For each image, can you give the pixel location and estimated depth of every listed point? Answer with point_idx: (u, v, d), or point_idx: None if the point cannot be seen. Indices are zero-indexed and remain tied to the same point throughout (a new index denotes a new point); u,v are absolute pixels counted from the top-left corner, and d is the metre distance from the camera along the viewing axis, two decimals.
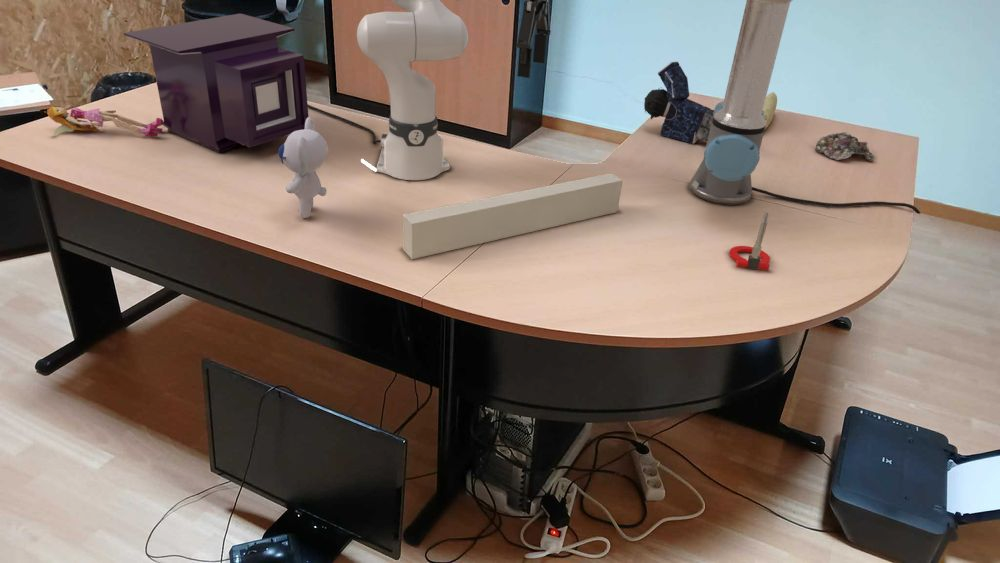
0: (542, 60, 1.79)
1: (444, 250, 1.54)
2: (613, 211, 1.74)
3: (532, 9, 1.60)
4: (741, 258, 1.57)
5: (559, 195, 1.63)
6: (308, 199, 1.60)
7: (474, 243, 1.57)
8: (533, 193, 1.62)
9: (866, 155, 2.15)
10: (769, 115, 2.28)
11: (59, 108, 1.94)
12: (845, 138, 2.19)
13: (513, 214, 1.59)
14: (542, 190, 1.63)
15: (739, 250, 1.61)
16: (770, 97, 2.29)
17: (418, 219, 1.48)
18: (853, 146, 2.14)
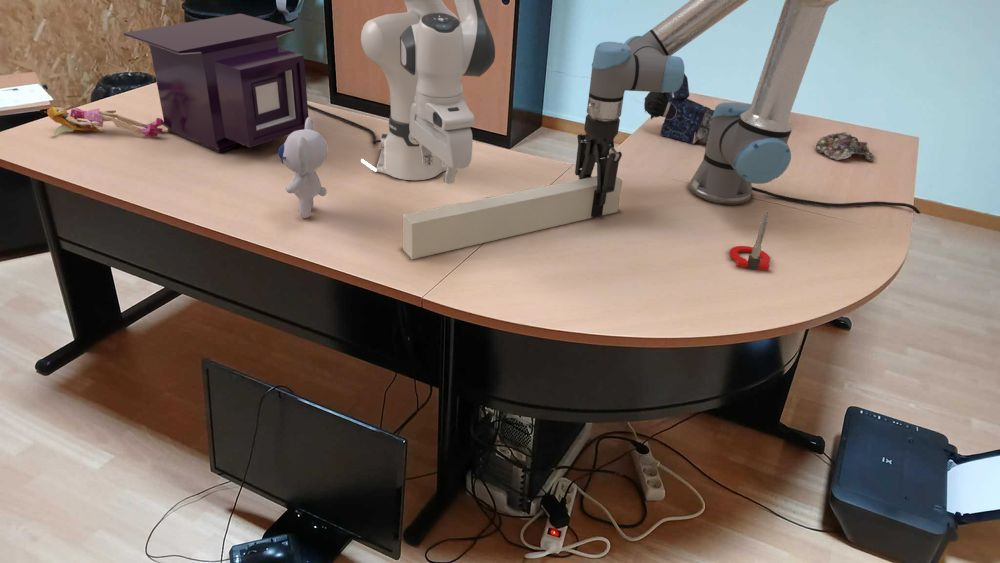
0: None
1: (444, 250, 1.54)
2: (613, 211, 1.74)
3: (618, 159, 1.61)
4: (741, 258, 1.57)
5: (559, 195, 1.63)
6: (308, 199, 1.60)
7: (474, 243, 1.57)
8: (533, 193, 1.62)
9: (866, 155, 2.15)
10: None
11: (59, 108, 1.94)
12: (845, 138, 2.19)
13: (513, 214, 1.59)
14: (542, 190, 1.63)
15: (739, 250, 1.61)
16: None
17: (418, 219, 1.48)
18: (853, 146, 2.14)
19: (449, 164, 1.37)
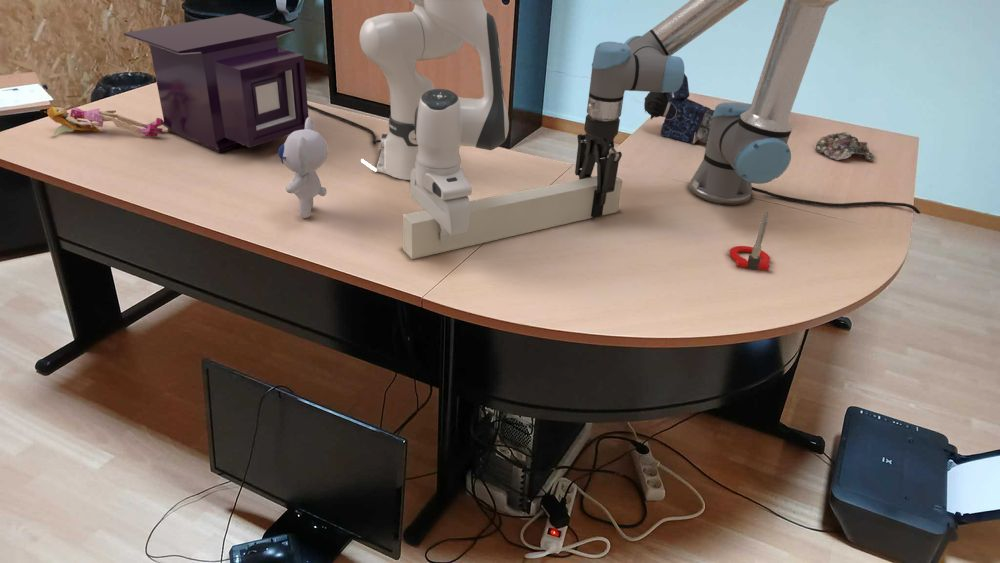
0: None
1: (444, 250, 1.54)
2: (613, 211, 1.74)
3: (618, 159, 1.61)
4: (741, 258, 1.57)
5: (558, 195, 1.63)
6: (308, 199, 1.60)
7: (474, 243, 1.57)
8: (533, 193, 1.62)
9: (866, 155, 2.15)
10: None
11: (59, 108, 1.94)
12: (845, 138, 2.19)
13: (513, 214, 1.59)
14: (542, 190, 1.63)
15: (739, 250, 1.61)
16: None
17: (418, 219, 1.48)
18: (853, 146, 2.14)
19: (448, 230, 1.44)
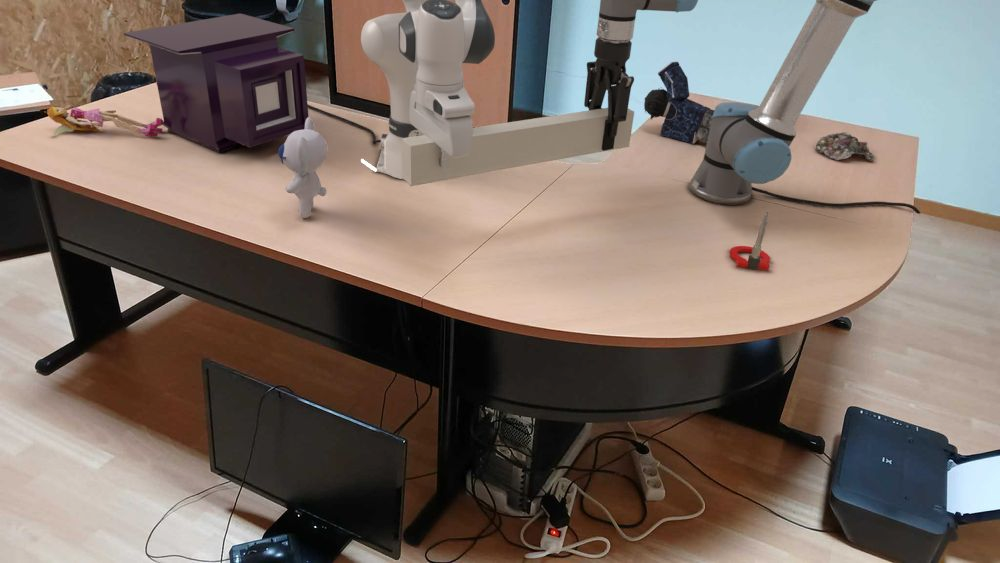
0: None
1: (445, 178, 1.46)
2: (624, 145, 1.66)
3: (631, 85, 1.53)
4: (741, 258, 1.57)
5: (567, 124, 1.54)
6: (308, 199, 1.60)
7: (477, 172, 1.49)
8: (539, 122, 1.53)
9: (866, 155, 2.15)
10: None
11: (59, 108, 1.94)
12: (845, 138, 2.19)
13: (518, 142, 1.50)
14: (549, 119, 1.55)
15: (739, 250, 1.61)
16: None
17: (417, 142, 1.40)
18: (853, 146, 2.14)
19: (449, 152, 1.36)
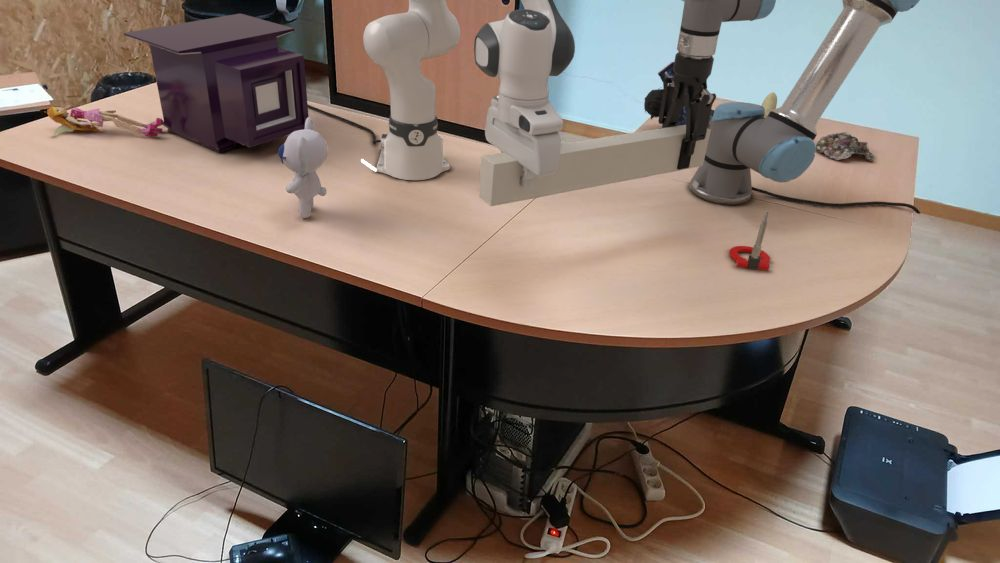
0: None
1: (525, 198, 1.38)
2: (698, 165, 1.59)
3: (712, 102, 1.46)
4: (741, 258, 1.57)
5: (646, 142, 1.47)
6: (308, 199, 1.60)
7: (556, 192, 1.41)
8: (618, 139, 1.46)
9: (866, 155, 2.15)
10: None
11: (59, 108, 1.94)
12: (845, 138, 2.19)
13: (598, 161, 1.43)
14: (627, 136, 1.48)
15: (739, 250, 1.61)
16: (770, 97, 2.29)
17: (499, 160, 1.32)
18: (853, 146, 2.14)
19: (535, 171, 1.28)
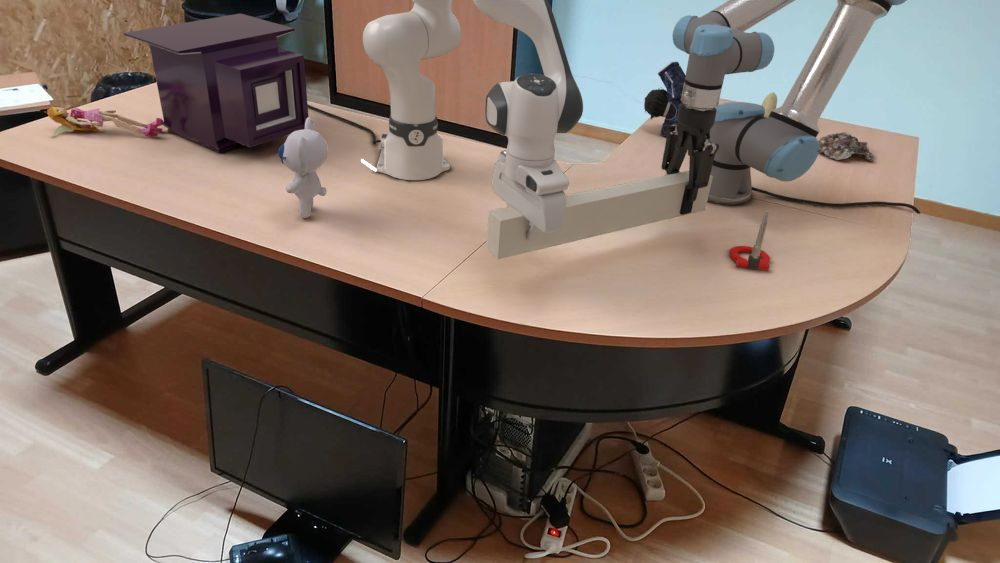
0: None
1: (531, 250, 1.42)
2: (701, 209, 1.63)
3: (715, 152, 1.50)
4: (741, 258, 1.57)
5: (649, 192, 1.51)
6: (308, 199, 1.60)
7: (561, 242, 1.46)
8: (622, 189, 1.50)
9: (866, 155, 2.15)
10: None
11: (59, 108, 1.94)
12: (845, 138, 2.19)
13: (602, 211, 1.47)
14: (631, 186, 1.52)
15: (739, 250, 1.61)
16: (770, 97, 2.29)
17: (506, 215, 1.37)
18: (853, 146, 2.14)
19: (541, 228, 1.32)
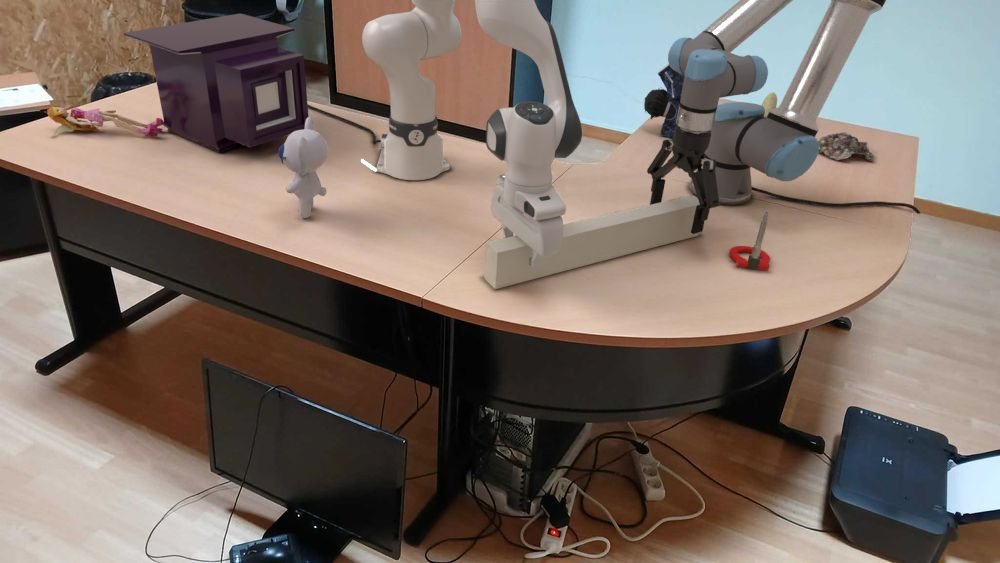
0: None
1: (527, 279, 1.46)
2: (695, 235, 1.66)
3: (714, 167, 1.51)
4: (741, 258, 1.57)
5: (643, 220, 1.55)
6: (308, 199, 1.60)
7: (557, 271, 1.49)
8: (616, 218, 1.54)
9: (866, 155, 2.15)
10: None
11: (59, 108, 1.94)
12: (845, 138, 2.19)
13: (597, 240, 1.51)
14: (625, 214, 1.55)
15: (739, 250, 1.61)
16: (770, 97, 2.29)
17: (503, 247, 1.40)
18: (853, 146, 2.14)
19: (539, 252, 1.35)
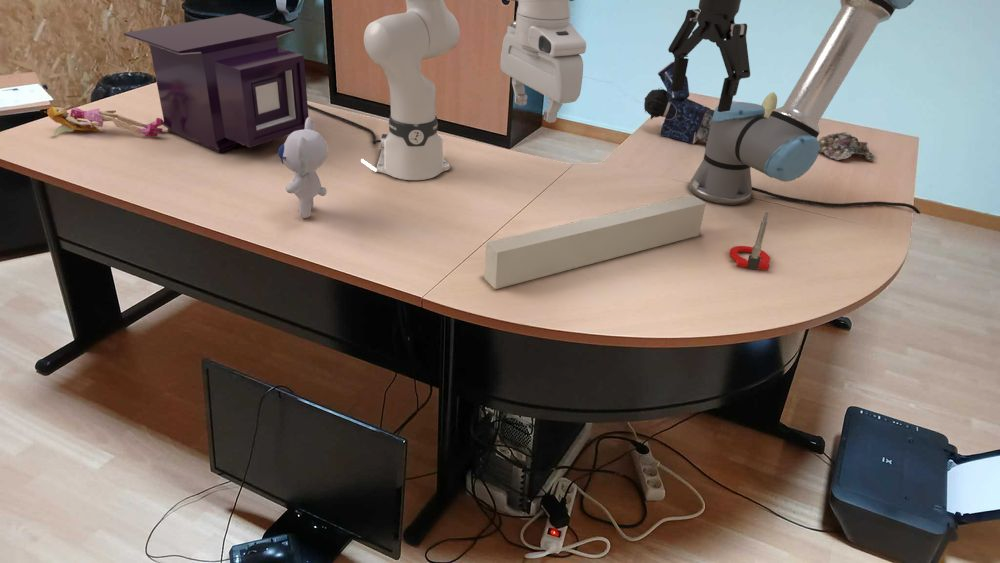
0: (682, 87, 1.54)
1: (527, 279, 1.46)
2: (695, 235, 1.66)
3: (745, 33, 1.37)
4: (741, 258, 1.57)
5: (643, 220, 1.55)
6: (308, 199, 1.60)
7: (557, 271, 1.49)
8: (616, 218, 1.54)
9: (866, 155, 2.15)
10: (769, 115, 2.28)
11: (59, 108, 1.94)
12: (845, 138, 2.19)
13: (597, 240, 1.51)
14: (625, 214, 1.55)
15: (739, 250, 1.61)
16: (770, 97, 2.29)
17: (503, 247, 1.40)
18: (853, 146, 2.14)
19: (555, 97, 1.20)
